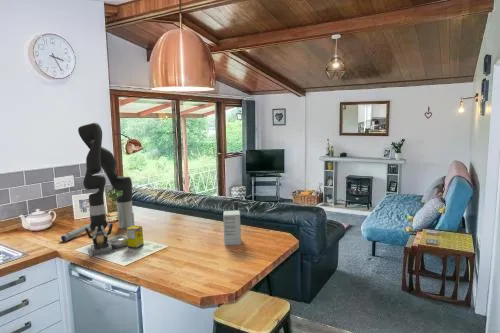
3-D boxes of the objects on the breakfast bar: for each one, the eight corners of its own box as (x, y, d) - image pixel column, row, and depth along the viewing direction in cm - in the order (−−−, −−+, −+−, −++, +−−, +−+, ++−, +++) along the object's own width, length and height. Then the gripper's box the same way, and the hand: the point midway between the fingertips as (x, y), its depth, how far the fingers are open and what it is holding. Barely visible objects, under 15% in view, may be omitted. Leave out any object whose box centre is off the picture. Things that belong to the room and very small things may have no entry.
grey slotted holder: (125, 242, 191) (124, 234, 190) (129, 248, 180) (128, 241, 180) (88, 249, 181) (87, 241, 181) (90, 257, 171) (89, 248, 170)
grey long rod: (59, 235, 195) (94, 217, 217) (62, 245, 197) (96, 227, 219) (65, 236, 193) (99, 218, 215) (68, 246, 195) (102, 227, 217)
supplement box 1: (143, 244, 186) (142, 225, 184) (137, 248, 180) (135, 229, 179) (135, 243, 188) (133, 225, 186) (127, 247, 182) (126, 228, 181)
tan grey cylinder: (104, 243, 182) (103, 230, 181) (105, 245, 178) (104, 233, 177) (95, 244, 179) (94, 232, 178) (96, 247, 176) (95, 234, 175)
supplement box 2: (241, 244, 181) (240, 214, 179) (224, 245, 181) (223, 215, 178) (240, 238, 191) (239, 209, 188) (224, 239, 190) (223, 210, 188)
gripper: (111, 209, 183) (113, 239, 185) (82, 213, 176) (85, 244, 178) (113, 212, 176) (115, 243, 179) (83, 216, 169) (86, 249, 172)
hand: (100, 243), depth 178 cm, fingers closed on tan grey cylinder, 4 cm apart
